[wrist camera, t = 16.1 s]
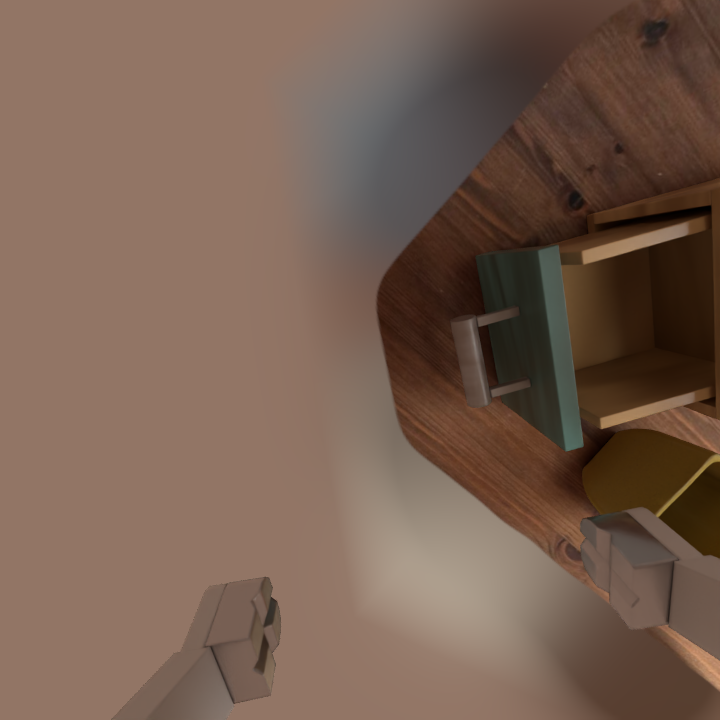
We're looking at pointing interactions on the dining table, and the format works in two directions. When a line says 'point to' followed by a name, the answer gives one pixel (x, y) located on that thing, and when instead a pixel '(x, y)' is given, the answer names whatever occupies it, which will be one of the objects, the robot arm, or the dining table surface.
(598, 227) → the cabinet
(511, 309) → the drawer
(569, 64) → the dining table surface
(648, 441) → the flower pot
